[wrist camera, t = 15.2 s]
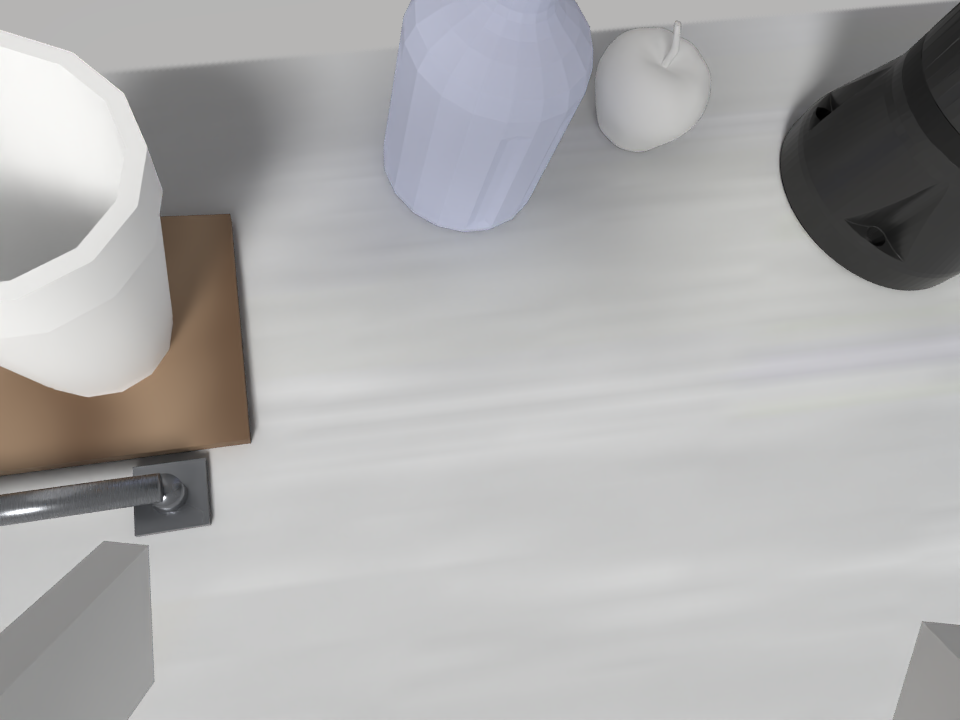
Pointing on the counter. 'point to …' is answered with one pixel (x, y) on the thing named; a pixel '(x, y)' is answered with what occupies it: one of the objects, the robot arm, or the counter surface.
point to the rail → (124, 498)
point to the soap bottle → (482, 104)
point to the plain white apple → (650, 88)
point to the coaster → (167, 391)
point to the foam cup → (76, 228)
